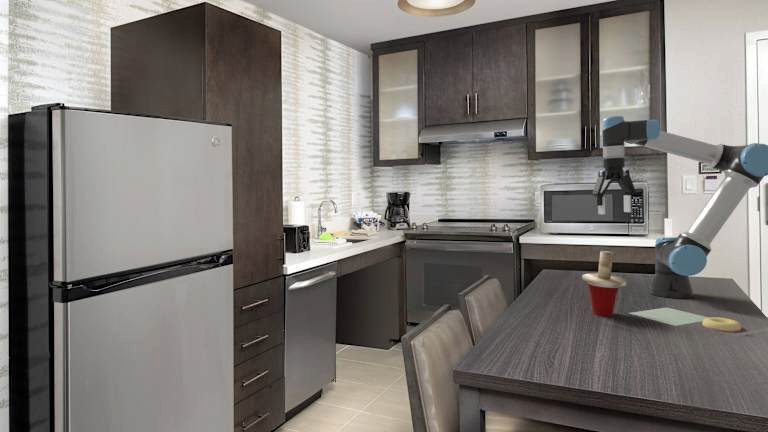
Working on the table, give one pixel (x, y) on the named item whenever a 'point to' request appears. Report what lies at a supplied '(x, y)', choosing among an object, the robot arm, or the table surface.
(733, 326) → the donut
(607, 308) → the plastic cup
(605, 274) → the lid
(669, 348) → the table surface
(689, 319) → the mat
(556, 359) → the table surface
